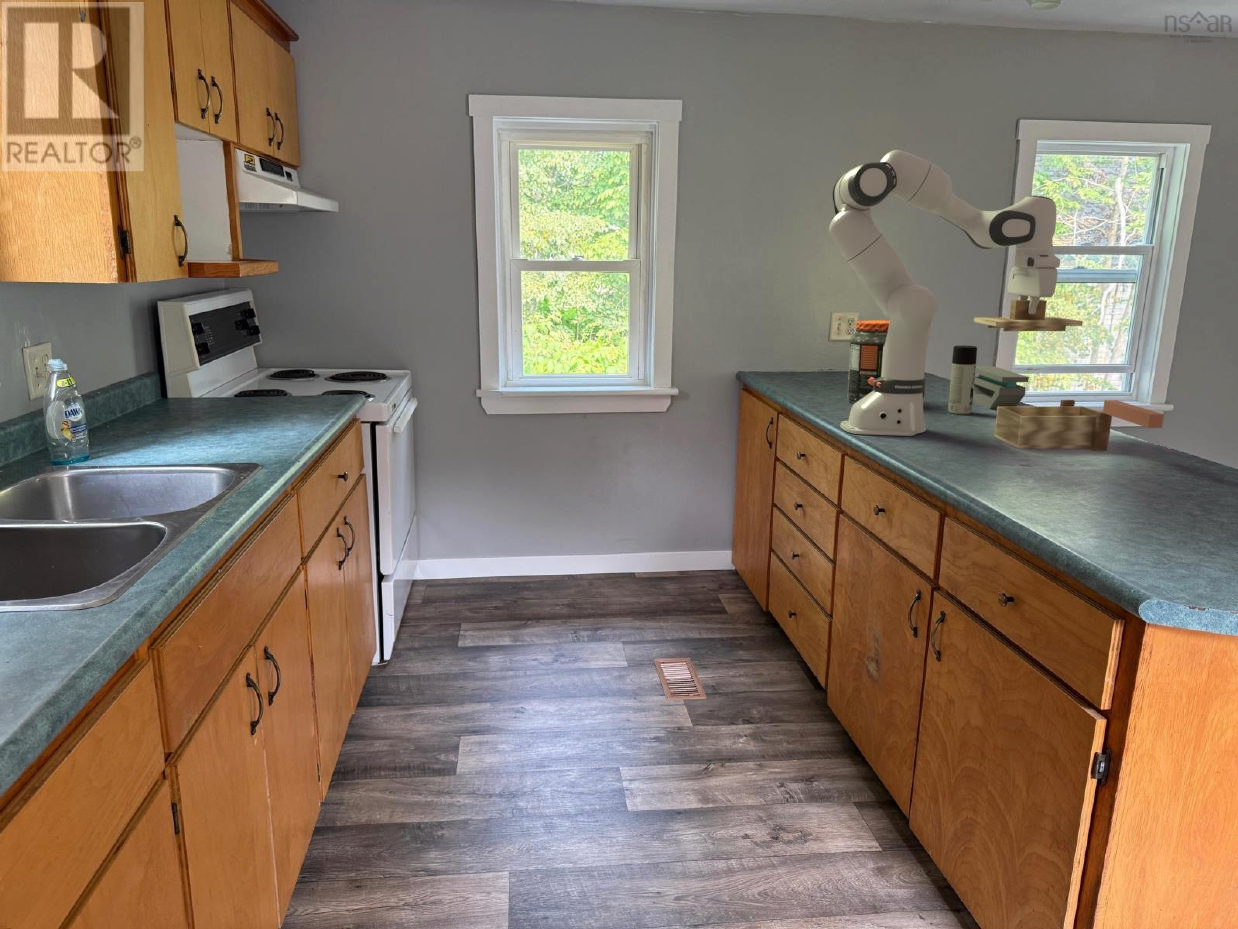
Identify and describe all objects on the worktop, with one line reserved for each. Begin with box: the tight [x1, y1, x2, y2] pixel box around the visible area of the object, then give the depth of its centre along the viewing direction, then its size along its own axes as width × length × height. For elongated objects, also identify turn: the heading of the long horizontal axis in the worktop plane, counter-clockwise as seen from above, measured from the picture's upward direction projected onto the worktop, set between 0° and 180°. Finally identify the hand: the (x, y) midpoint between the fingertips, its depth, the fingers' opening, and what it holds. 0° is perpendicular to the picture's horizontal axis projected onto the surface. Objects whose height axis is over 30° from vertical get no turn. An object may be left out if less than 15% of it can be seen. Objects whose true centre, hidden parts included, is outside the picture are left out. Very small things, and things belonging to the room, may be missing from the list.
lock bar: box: [1102, 399, 1165, 429], centre depth 194 cm, size 3×18×3 cm, turn 0°
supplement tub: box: [847, 319, 889, 404], centre depth 271 cm, size 16×16×26 cm
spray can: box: [947, 345, 978, 415], centre depth 253 cm, size 7×7×20 cm
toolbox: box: [993, 399, 1113, 451], centre depth 214 cm, size 22×19×9 cm
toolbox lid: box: [973, 299, 1084, 332], centre depth 227 cm, size 22×14×8 cm, turn 89°
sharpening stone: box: [973, 365, 1030, 410], centre depth 266 cm, size 25×8×11 cm, turn 0°
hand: (1027, 313), depth 227 cm, fingers closed on toolbox lid, 3 cm apart
